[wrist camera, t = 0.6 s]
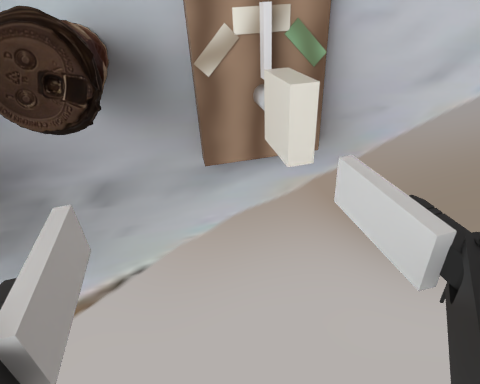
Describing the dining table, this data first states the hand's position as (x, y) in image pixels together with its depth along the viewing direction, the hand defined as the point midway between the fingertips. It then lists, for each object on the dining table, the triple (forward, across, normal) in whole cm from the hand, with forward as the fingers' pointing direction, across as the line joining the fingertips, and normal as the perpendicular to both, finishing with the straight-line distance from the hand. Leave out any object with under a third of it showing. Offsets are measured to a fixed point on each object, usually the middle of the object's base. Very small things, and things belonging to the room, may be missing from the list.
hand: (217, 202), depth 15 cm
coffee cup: (+25, -10, +5) cm, 27 cm away
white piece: (+21, +9, +2) cm, 23 cm away
